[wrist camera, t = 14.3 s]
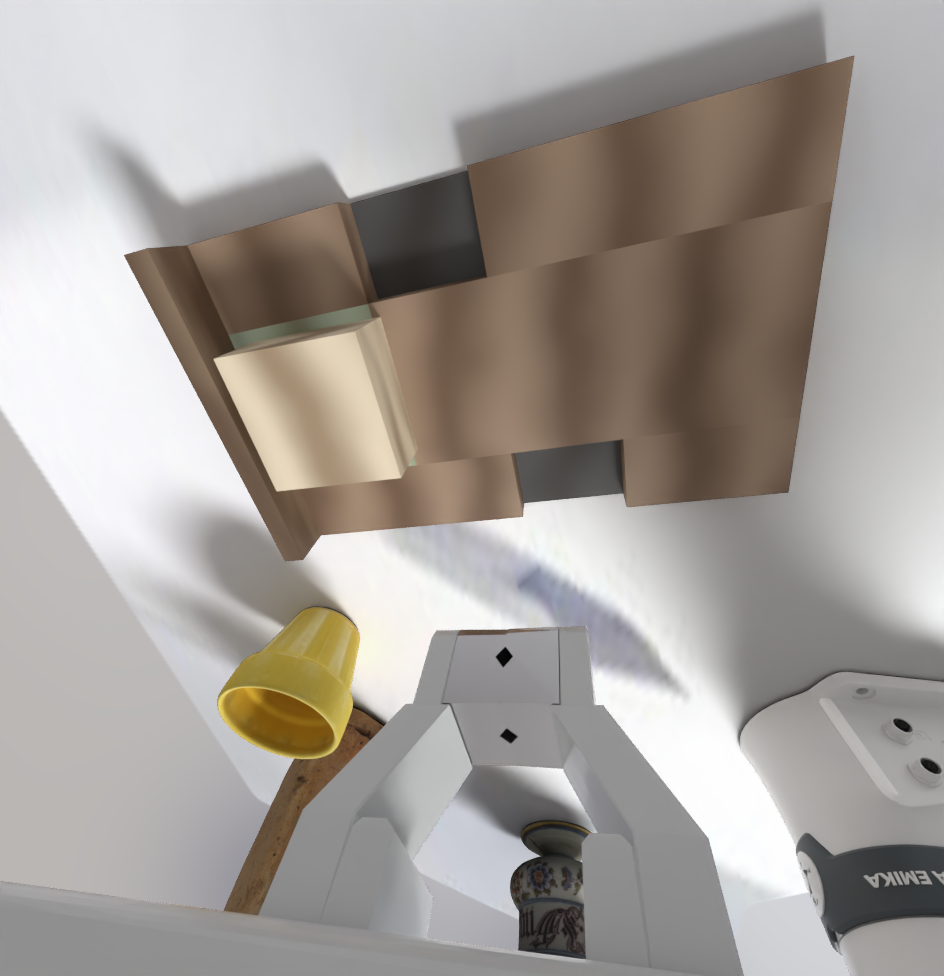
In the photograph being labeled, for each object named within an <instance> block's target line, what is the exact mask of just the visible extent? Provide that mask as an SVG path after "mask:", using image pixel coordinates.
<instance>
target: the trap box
mask: <svg viewBox="0 0 944 976" xmlns="http://www.w3.org/2000/svg"><path fill="white" fill-rule="evenodd" d="M853 61H854V56H851V57H847V58H844V59H840V60H837V61H833V62H830V63H826V64H823V65H819V66H816V67H812V68H809V69H805V70H802V71H798V72H795V73H791V74H788V75H784V76H781V77H777V78H773V79H770V80H766V81H763V82H759V83H756V84H752V85H749V86H745V87H742V88H738V89H735V90H731V91H728V92H724V93H721V94H717V95H714V96H710V97H707V98H703V99H700V100H696V101H693V102H689V103H686V104H682V105H679V106H675V107H672V108H668V109H665V110H661V111H658V112H654V113H651V114H647V115H644V116H640V117H637V118H633V119H630V120H626V121H623V122H619V123H616V124H612V125H609V126H605V127H602V128H598V129H594V130H591V131H587V132H584V133H580V134H577V135H573V136H570V137H566V138H563V139H559V140H556V141H552V142H549V143H545V144H542V145H538V146H535V147H531V148H528V149H524V150H521V151H517V152H514V153H510V154H507V155H503V156H500V157H496V158H493V159H489V160H486V161H482V162H479V163H475V164H472V165H468V166H467V168H468V171H465V172H461V173H458V174H454V175H451V176H447V177H444V178H440V179H436V180H433V181H429V182H426V183H422V184H419V185H415V186H412V187H408V188H405V189H401V190H398V191H394V192H390V193H387V194H383V195H380V196H376V197H373V198H369V199H366V200H362V201H359V202H355V203H351V204H346V203H335V204H331V205H328V206H324V207H321V208H317V209H314V210H310V211H307V212H303V213H300V214H296V215H293V216H289V217H286V218H282V219H279V220H275V221H272V222H268V223H265V224H261V225H258V226H254V227H251V228H247V229H244V230H240V231H237V232H233V233H230V234H226V235H222V236H219V237H215V238H212V239H208V240H205V241H201V242H198V243H194V244H191V245H187V246H174V247H160V248H147V249H143V250H140V251H137V252H133V253H130V254H126V255H124V256H125V258H126V260H127V262H128V264H129V266H130V268H131V270H132V271H133V273H134V275H135V277H136V279H137V281H138V283H139V285H140V287H141V289H142V290H143V292H144V294H145V296H146V298H147V300H148V302H149V304H150V306H151V308H152V309H153V311H154V313H155V315H156V317H157V319H158V321H159V323H160V325H161V327H162V328H163V330H164V332H165V334H166V336H167V338H168V340H169V342H170V344H171V345H172V347H173V349H174V351H175V353H176V355H177V357H178V359H179V361H180V363H181V364H182V366H183V368H184V370H185V372H186V374H187V376H188V378H189V380H190V382H191V383H192V385H193V387H194V389H195V391H196V393H197V395H198V397H199V399H200V401H201V402H202V404H203V406H204V408H205V410H206V412H207V414H208V416H209V418H210V420H211V421H212V423H213V425H214V427H215V429H216V431H217V433H218V435H219V437H220V439H221V440H222V442H223V444H224V446H225V448H226V450H227V452H228V454H229V456H230V458H231V459H232V461H233V463H234V465H235V467H236V469H237V471H238V473H239V475H240V477H241V478H242V480H243V482H244V484H245V486H246V488H247V490H248V492H249V494H250V495H251V497H252V499H253V501H254V503H255V505H256V507H257V509H258V511H259V513H260V514H261V516H262V518H263V520H264V522H265V524H266V526H267V528H268V530H269V532H270V533H271V535H272V537H273V539H274V541H275V543H276V545H277V547H278V549H279V551H280V552H281V554H282V556H283V558H284V560H285V561H295V560H303V559H304V558H305V556H306V555H307V554H308V552H309V551H310V550H311V548H312V547H313V545H314V544H315V543H316V541H317V540H318V539H319V537H320V536H321V535H329V534H340V533H351V532H362V531H373V530H384V529H395V528H406V527H416V526H427V525H438V524H449V523H460V522H471V521H482V520H493V519H504V518H515V517H523V509H524V503H529V502H539V501H549V500H559V499H569V498H580V497H590V496H600V495H610V494H620V493H623V494H624V498H625V501H626V505H627V507H635V506H646V505H657V504H668V503H678V502H689V501H700V500H711V499H722V498H733V497H744V496H755V495H766V494H777V493H788V491H789V485H790V478H791V472H792V465H793V458H794V452H795V445H796V438H797V432H798V425H799V419H800V412H801V405H802V399H803V392H804V386H805V379H806V372H807V366H808V359H809V352H810V346H811V339H812V333H813V326H814V319H815V313H816V306H817V299H818V293H819V286H820V280H821V273H822V266H823V260H824V253H825V246H826V240H827V233H828V227H829V220H830V213H831V207H832V200H833V194H834V187H835V180H836V174H837V167H838V160H839V154H840V147H841V141H842V134H843V127H844V121H845V114H846V107H847V101H848V94H849V88H850V81H851V74H852V68H853ZM377 317H381V320H382V323H383V327H384V330H385V334H386V337H387V341H388V344H389V348H390V351H391V355H392V358H393V362H394V365H395V369H396V373H397V376H398V380H399V383H400V387H401V390H402V394H403V397H404V401H405V404H406V408H407V411H408V415H409V418H410V422H411V425H412V429H413V432H414V436H415V439H416V443H417V446H418V450H417V452H416V453H415V455H414V457H413V459H412V460H411V462H410V464H409V466H408V467H407V469H406V471H405V472H404V474H403V476H402V478H398V479H388V480H379V481H370V482H361V483H351V484H342V485H333V486H323V487H314V488H305V489H296V490H286V491H276V489H275V487H274V485H273V483H272V481H271V479H270V477H269V474H268V472H267V470H266V468H265V466H264V464H263V462H262V460H261V458H260V456H259V454H258V451H257V449H256V447H255V445H254V443H253V441H252V439H251V437H250V435H249V433H248V431H247V428H246V426H245V424H244V422H243V420H242V418H241V416H240V414H239V412H238V410H237V408H236V405H235V403H234V401H233V399H232V397H231V395H230V393H229V391H228V389H227V387H226V385H225V382H224V380H223V378H222V376H221V374H220V372H219V370H218V368H217V366H216V364H215V361H214V358H217V357H219V356H221V355H224V354H226V353H229V352H231V351H233V350H236V349H238V348H241V347H243V346H246V345H248V344H250V343H253V342H256V341H261V340H266V339H271V338H276V337H281V336H286V335H291V334H296V333H301V332H306V331H311V330H317V329H322V328H327V327H332V326H337V325H342V324H347V323H352V322H357V321H362V320H367V319H372V318H377Z"/></svg>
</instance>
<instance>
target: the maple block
mask: <svg viewBox="0 0 944 976" xmlns="http://www.w3.org/2000/svg"><path fill="white" fill-rule="evenodd" d="M214 361H215V364H216V366H217V368H218V370H219V372H220V374H221V376H222V378H223V380H224V382H225V385H226V387H227V389H228V391H229V393H230V395H231V397H232V399H233V401H234V403H235V405H236V408H237V410H238V412H239V414H240V416H241V418H242V420H243V422H244V424H245V426H246V428H247V431H248V433H249V435H250V437H251V439H252V441H253V443H254V445H255V447H256V449H257V451H258V454H259V456H260V458H261V460H262V462H263V464H264V466H265V468H266V470H267V472H268V474H269V477H270V479H271V481H272V483H273V485H274V487H275V489H276V491H286V490H296V489H305V488H314V487H323V486H333V485H342V484H351V483H361V482H370V481H379V480H388V479H398V478H402V476H403V474H404V472H405V471H406V469H407V467H408V466H409V464H410V462H411V460H412V459H413V457H414V455H415V453H416V452H417V450H418V446H417V443H416V439H415V436H414V432H413V429H412V425H411V422H410V418H409V415H408V411H407V408H406V404H405V401H404V397H403V394H402V390H401V387H400V383H399V380H398V376H397V373H396V369H395V365H394V362H393V358H392V355H391V351H390V348H389V344H388V341H387V337H386V334H385V330H384V327H383V323H382V320H381V317H377V318H372V319H367V320H362V321H357V322H352V323H347V324H342V325H337V326H332V327H327V328H322V329H317V330H311V331H306V332H301V333H296V334H291V335H286V336H281V337H276V338H271V339H266V340H261V341H256V342H253V343H250V344H248V345H246V346H243V347H241V348H238V349H236V350H233V351H231V352H229V353H226V354H224V355H221V356H219V357H217V358H214Z"/></svg>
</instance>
